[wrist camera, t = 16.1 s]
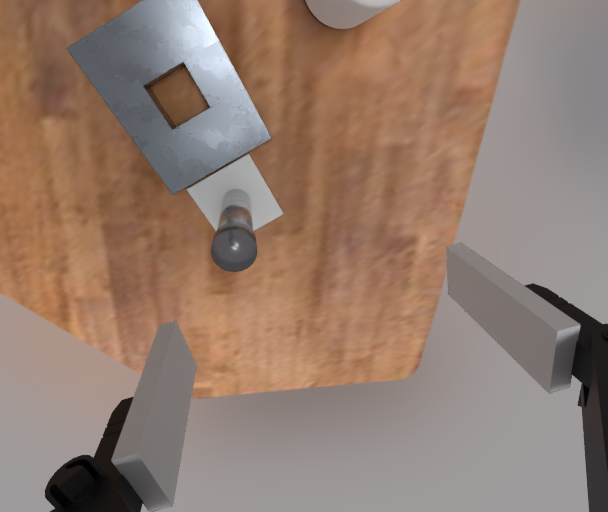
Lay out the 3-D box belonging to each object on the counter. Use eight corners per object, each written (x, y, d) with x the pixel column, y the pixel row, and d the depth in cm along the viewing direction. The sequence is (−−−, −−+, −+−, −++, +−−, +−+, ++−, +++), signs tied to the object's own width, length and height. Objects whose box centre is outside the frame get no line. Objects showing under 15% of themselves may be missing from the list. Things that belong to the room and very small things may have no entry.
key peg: (221, 217, 41) (212, 272, 29) (219, 187, 40) (209, 231, 27) (253, 217, 42) (257, 270, 29) (252, 186, 40) (256, 230, 28)
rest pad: (186, 188, 40) (186, 189, 39) (248, 153, 39) (248, 153, 39) (226, 244, 43) (226, 246, 43) (283, 213, 43) (283, 214, 42)
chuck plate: (77, 51, 33) (66, 48, 31) (187, -18, 32) (183, -26, 30) (176, 189, 39) (172, 194, 37) (269, 135, 39) (271, 138, 36)
